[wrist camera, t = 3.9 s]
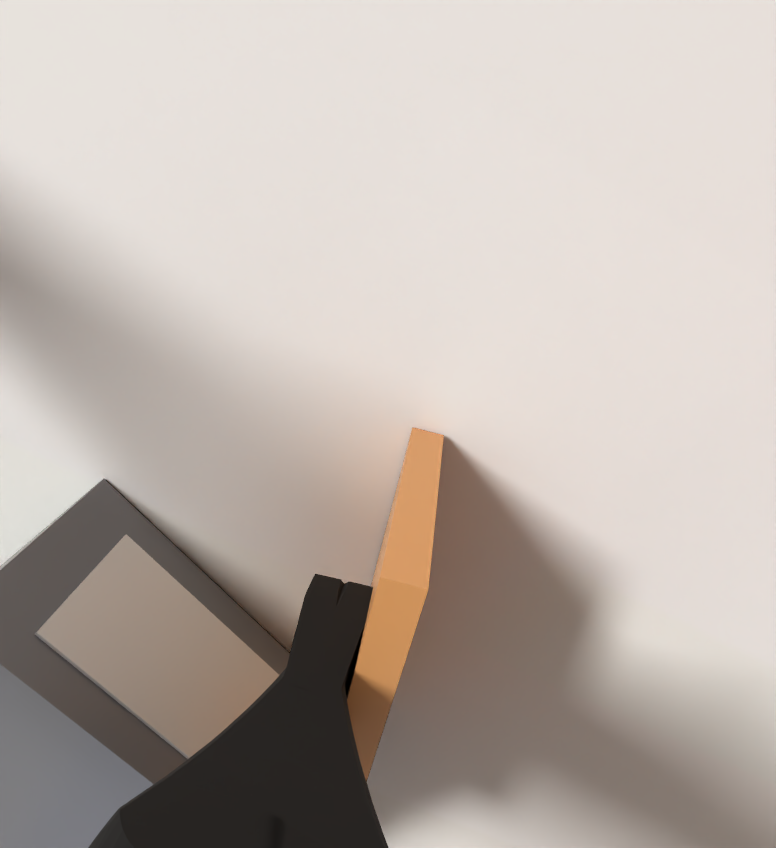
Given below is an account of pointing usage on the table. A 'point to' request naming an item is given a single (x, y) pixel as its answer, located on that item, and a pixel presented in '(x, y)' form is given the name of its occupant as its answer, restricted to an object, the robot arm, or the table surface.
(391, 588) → the side door
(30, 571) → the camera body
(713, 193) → the table surface
